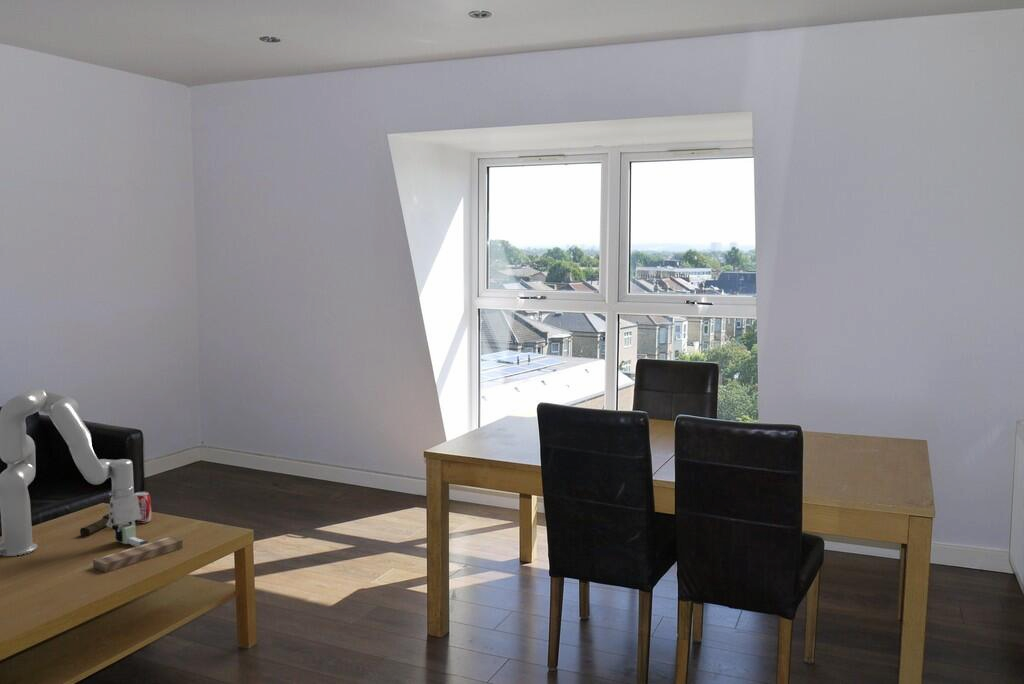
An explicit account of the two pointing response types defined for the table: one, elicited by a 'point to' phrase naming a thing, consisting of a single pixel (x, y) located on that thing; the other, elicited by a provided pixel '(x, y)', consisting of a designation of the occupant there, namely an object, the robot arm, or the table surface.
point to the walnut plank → (137, 554)
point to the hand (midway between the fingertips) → (125, 538)
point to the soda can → (144, 506)
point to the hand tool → (94, 526)
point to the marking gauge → (130, 535)
